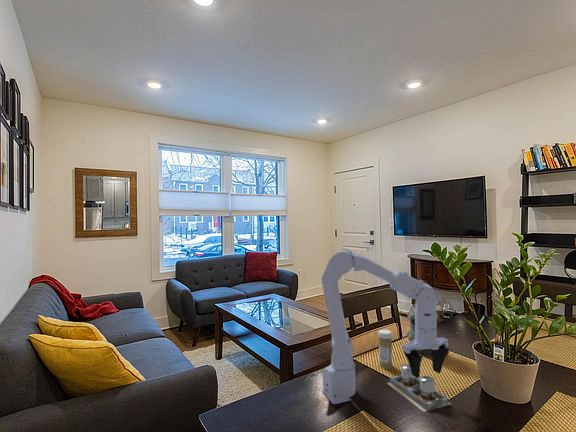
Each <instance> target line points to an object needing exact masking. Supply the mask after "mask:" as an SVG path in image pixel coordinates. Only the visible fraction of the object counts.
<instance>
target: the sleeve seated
mask: <svg viewBox="0 0 576 432" xmlns="http://www.w3.org/2000/svg"><path fill="white" fill-rule="evenodd" d="M400 375H401V381H400V384H402V385H403V386H404V387H406V388H410V387H414V386H416V383H415V376H413V375H412V371H411V368H410V364H409V363H402V364H401V365H400Z"/></svg>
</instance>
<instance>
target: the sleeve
mask: <svg viewBox="0 0 576 432" xmlns="http://www.w3.org/2000/svg"><path fill="white" fill-rule="evenodd" d="M419 380H420V394H419V398H421V399H422V400H423V401H425V402H426V403H427V402H431V401H435V400H436V397H435V390H436V380H435V379H434V378H433V377H432V376H428V375H420V376H419Z"/></svg>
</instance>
